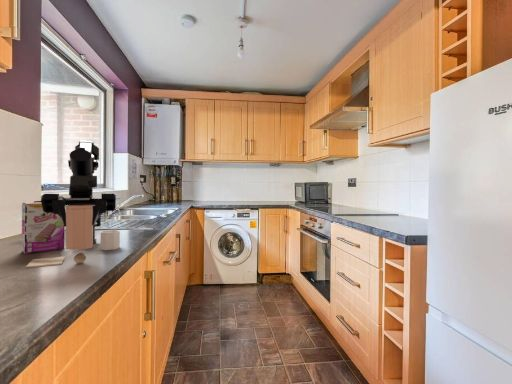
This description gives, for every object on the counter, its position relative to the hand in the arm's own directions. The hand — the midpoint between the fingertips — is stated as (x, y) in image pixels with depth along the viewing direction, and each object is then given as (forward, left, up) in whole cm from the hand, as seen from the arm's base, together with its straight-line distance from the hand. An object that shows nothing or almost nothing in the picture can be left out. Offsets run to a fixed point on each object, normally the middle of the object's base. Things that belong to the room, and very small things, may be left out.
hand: (79, 224), depth 80 cm
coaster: (-6, -8, -11) cm, 16 cm away
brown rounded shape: (-1, 0, -7) cm, 7 cm away
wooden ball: (-1, 0, -11) cm, 11 cm away
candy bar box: (-24, -12, -12) cm, 30 cm away
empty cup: (-19, +8, -11) cm, 24 cm away
